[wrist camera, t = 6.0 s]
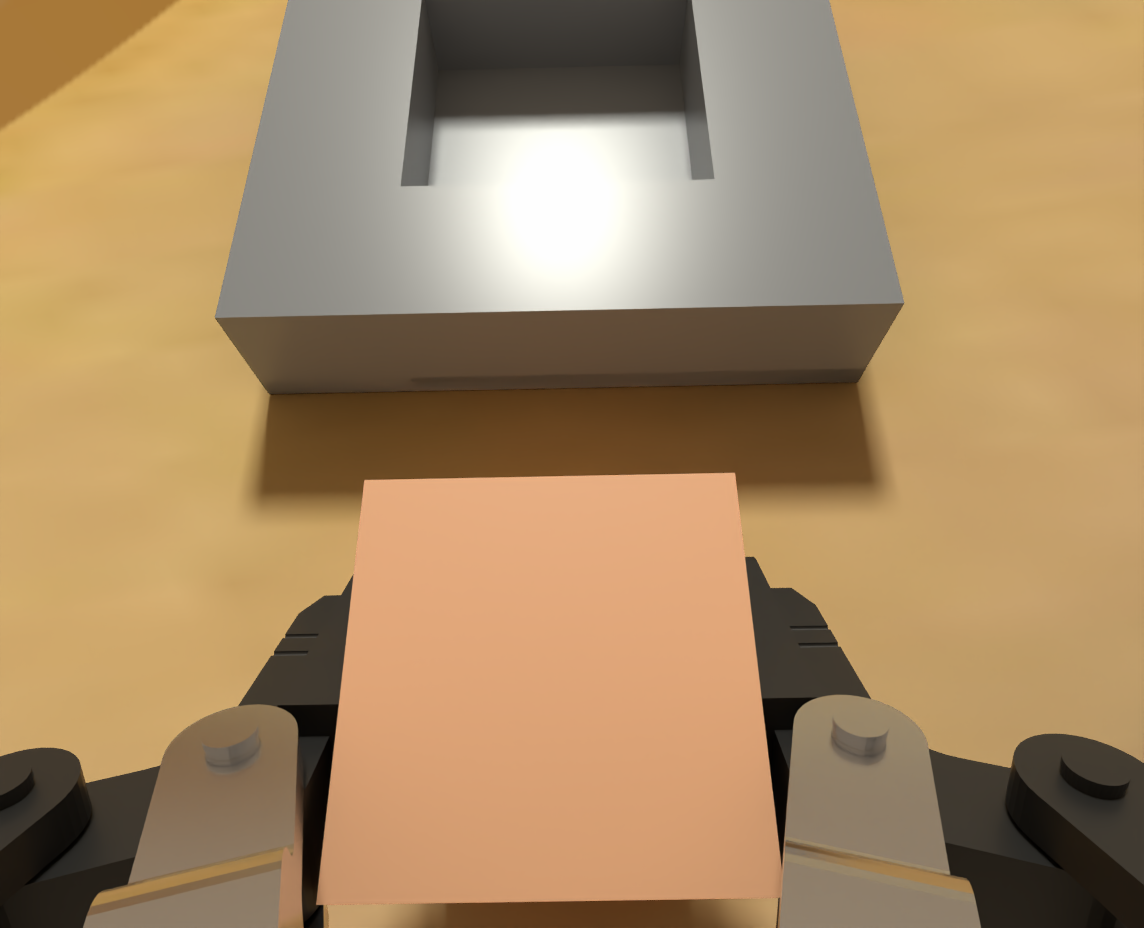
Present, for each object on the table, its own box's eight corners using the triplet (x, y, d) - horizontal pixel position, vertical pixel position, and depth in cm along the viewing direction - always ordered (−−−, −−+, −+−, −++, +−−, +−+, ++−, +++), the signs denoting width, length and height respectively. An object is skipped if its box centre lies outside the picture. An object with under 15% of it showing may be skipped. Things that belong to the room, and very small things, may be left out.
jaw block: (671, 628, 16) (734, 472, 9) (688, 871, 14) (784, 898, 7) (457, 633, 16) (364, 479, 9) (445, 874, 14) (316, 905, 7)
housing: (780, 4, 24) (804, -100, 22) (857, 382, 18) (903, 303, 16) (338, 15, 25) (308, -87, 22) (268, 394, 18) (214, 317, 16)
